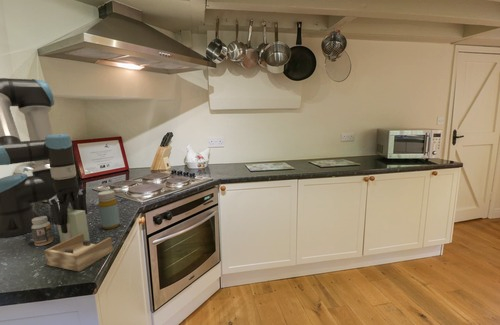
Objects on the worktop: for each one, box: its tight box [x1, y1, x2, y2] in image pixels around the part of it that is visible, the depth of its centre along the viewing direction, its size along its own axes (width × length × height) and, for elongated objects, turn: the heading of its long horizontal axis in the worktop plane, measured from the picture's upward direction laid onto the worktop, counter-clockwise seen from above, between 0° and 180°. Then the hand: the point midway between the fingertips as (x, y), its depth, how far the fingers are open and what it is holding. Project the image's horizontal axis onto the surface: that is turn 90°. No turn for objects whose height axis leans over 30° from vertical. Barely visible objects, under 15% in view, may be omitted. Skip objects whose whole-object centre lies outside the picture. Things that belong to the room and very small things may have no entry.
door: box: [57, 208, 91, 243], centre depth 102 cm, size 10×5×12 cm, turn 71°
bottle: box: [97, 189, 121, 230], centre depth 116 cm, size 7×7×15 cm
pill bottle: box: [31, 215, 54, 247], centre depth 103 cm, size 6×6×10 cm
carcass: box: [43, 233, 114, 272], centre depth 91 cm, size 14×13×5 cm
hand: (74, 237), depth 103 cm, fingers closed on door, 4 cm apart
